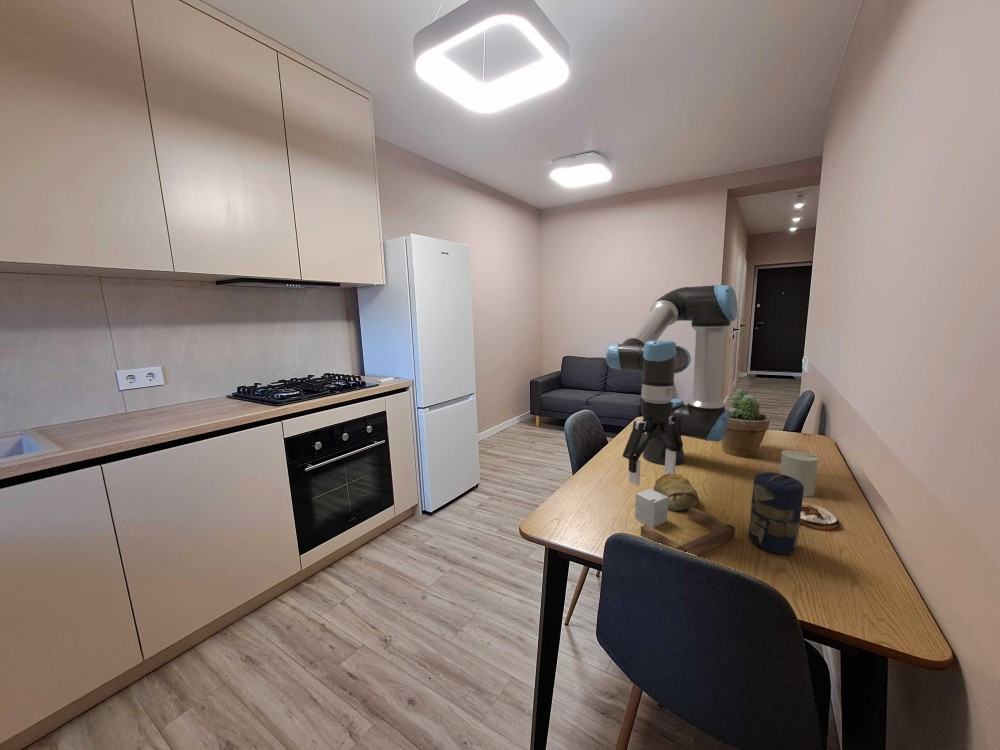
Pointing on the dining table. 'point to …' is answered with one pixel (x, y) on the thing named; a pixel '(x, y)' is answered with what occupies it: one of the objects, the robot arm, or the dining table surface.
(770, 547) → the canister
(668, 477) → the pastry
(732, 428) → the potted plant
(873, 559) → the dining table surface
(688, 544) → the bay
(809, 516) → the sushi roll
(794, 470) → the can
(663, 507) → the skincare box
